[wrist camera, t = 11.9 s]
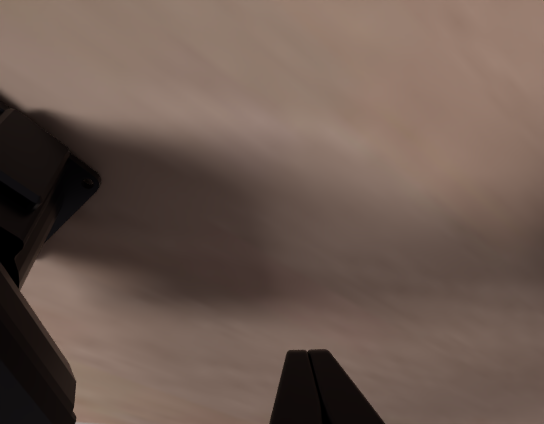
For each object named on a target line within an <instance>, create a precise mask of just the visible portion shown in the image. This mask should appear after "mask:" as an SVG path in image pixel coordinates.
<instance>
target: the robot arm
mask: <svg viewBox="0 0 544 424" xmlns="http://www.w3.org/2000/svg"><path fill="white" fill-rule="evenodd" d="M84 179H90V180H92V182H93V184H87V183H85V181H84ZM100 184H101V178H100V175H99V174H98V173H97V172H96V171H94V170H93V169H92V168H90V167H89V166H88V165H86V164H85V163H84V162H82V161H81V160H80V159H78V158H77V157H75V156H74V155H73V154H71V153H70V152H69V150H68V148H67V147H66V146H65V145H64V144H62V143H61V142H60V141H58V140H57V139H56V138H54V137H53V136H52V135H50V134H49V133H48V132H46V131H45V130H44V129H42V128H41V127H40V126H38V125H37V124H36V123H34V122H33V121H31V120H30V119H29V118H27V117H26V116H25V115H23V114H22V113H21V112H19V111H18V110H16V109H11V108H9V107H8V106H7V105H5V104H4V103H3V102H1V101H0V424H75V422H76V415H75V414H74V412H73V408H74V402H75V389H76V380H75V378H74V375H73V373H72V370H71V367H70V365H69V363H68V361H67V360H66V358H65V357H64V355H63V354H62V352H61V351H60V349H59V348H58V347H57V345H56V344H55V342H54V341H53V339H52V338H51V336H50V335H49V333H48V332H47V330H46V329H45V327H44V326H43V324H42V323H41V321H40V320H39V318H38V317H37V315H36V314H35V312H34V311H33V309H32V308H31V307H30V305H29V304H28V302H27V301H26V299H25V298H24V296H23V295H22V293H21V292H20V290H21V288H22V286H23V284H24V282H25V280H26V278H27V276H28V274H29V272H30V270H31V268H32V266H33V264H34V262H35V260H36V258H37V256H38V254H39V252H40V250H41V248H42V246H43V244H44V243H45V242H46V241H47V240H48V239H49V238H50V237H51V236H52V235H53V234H54V233H55V232H56V231H57V230H58V229H59V228H60V227H61V226H62V225H63V224H64V223H65V222H66V221H67V220H68V219H69V218H70V217H71V216H72V215H73V214H74V213H75V212H76V211H77V210H78V209H79V208H80V207H81V206H82V205H83V204H84V203H85V202H86V201H87V200H88V199H89V198H90V197H91V196H92V195H93V194H94V193H95V192H96V191H97V190H98V188H99V186H100ZM269 424H385V423H384V422H383V420H382V419H381V418H380V416H379V415H378V414H377V412H376V411H375V410H374V409H373V407H372V406H371V405H370V403H369V402H368V401H367V400H366V398H365V397H364V396H363V394H362V393H361V392H360V390H359V389H358V388H357V387H356V385H355V384H354V383H353V381H352V380H351V379H350V377H349V376H348V375H347V374H346V372H345V371H344V370H343V368H342V367H341V366H340V365H339V363H338V362H337V361H336V359H335V358H334V357H333V355H332V354H331V353H330V352H329V351H328V350H326V349H315V350H309V351H308V352H307V351H306V350H289V351H288V352H287V354H286V358H285V362H284V366H283V370H282V374H281V378H280V382H279V386H278V390H277V394H276V398H275V403H274V407H273V411H272V415H271V419H270V423H269Z"/></svg>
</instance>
